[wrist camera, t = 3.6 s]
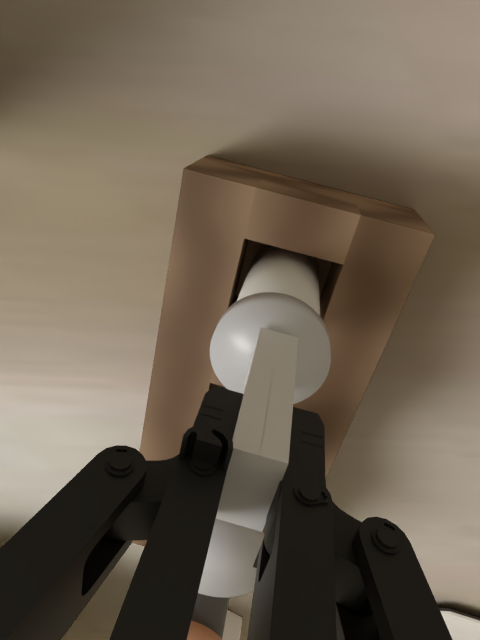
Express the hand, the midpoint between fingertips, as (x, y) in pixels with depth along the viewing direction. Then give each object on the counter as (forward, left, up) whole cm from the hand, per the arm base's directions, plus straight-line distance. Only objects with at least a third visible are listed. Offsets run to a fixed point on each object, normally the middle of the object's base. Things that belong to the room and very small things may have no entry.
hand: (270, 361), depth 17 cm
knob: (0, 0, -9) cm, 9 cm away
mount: (0, -9, -11) cm, 14 cm away
